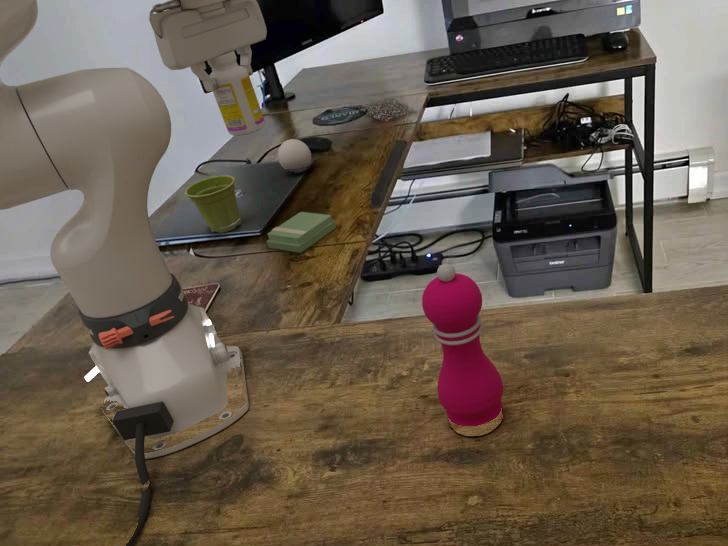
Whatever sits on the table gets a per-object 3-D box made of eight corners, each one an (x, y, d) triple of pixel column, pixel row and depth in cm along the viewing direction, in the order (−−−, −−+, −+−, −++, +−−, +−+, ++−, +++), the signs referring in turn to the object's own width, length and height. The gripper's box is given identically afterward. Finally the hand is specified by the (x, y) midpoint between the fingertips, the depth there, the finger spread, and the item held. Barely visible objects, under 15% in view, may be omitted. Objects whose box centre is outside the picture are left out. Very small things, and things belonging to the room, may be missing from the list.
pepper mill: (437, 411, 78) (399, 260, 67) (494, 390, 80) (466, 239, 68) (457, 450, 73) (419, 292, 61) (518, 426, 74) (493, 269, 62)
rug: (388, 99, 190) (388, 95, 190) (416, 112, 176) (415, 109, 175) (356, 108, 187) (355, 105, 187) (382, 123, 173) (381, 119, 172)
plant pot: (252, 228, 131) (236, 185, 125) (203, 242, 129) (185, 200, 123) (247, 211, 138) (232, 171, 133) (201, 225, 136) (183, 184, 131)
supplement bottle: (260, 122, 124) (234, 47, 116) (271, 128, 119) (245, 50, 111) (225, 133, 121) (196, 57, 114) (234, 139, 116) (205, 61, 109)
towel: (301, 253, 118) (296, 239, 117) (268, 248, 122) (263, 234, 121) (336, 227, 125) (332, 214, 123) (305, 223, 129) (300, 210, 127)
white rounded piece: (321, 169, 152) (312, 137, 147) (292, 181, 149) (281, 148, 144) (301, 161, 159) (291, 130, 154) (273, 172, 155) (262, 140, 151)
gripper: (157, 5, 99) (195, 102, 107) (257, -22, 112) (284, 65, 120) (131, 8, 102) (170, 102, 110) (231, -18, 115) (259, 66, 123)
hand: (230, 83), depth 115 cm, fingers closed on supplement bottle, 6 cm apart
